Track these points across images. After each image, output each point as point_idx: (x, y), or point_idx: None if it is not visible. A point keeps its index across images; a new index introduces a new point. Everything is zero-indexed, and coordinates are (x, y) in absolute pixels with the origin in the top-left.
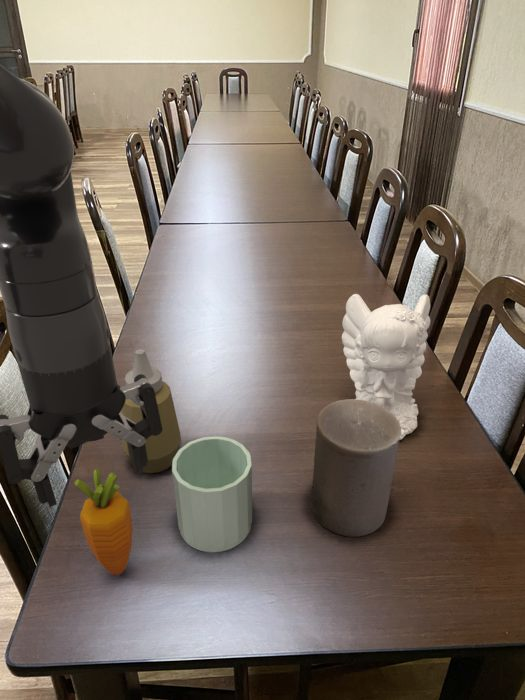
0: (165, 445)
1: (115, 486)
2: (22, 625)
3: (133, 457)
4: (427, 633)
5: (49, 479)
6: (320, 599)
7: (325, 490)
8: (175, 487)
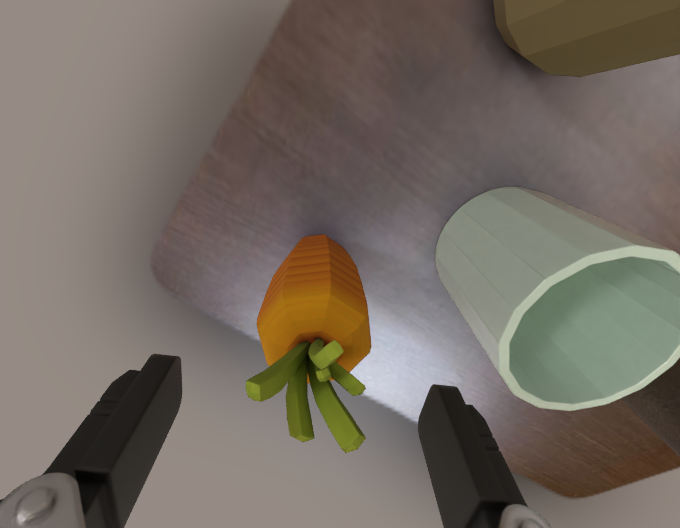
0: (596, 71)
1: (355, 389)
2: (161, 235)
3: (438, 492)
4: (530, 469)
5: (124, 525)
6: (493, 405)
7: (657, 402)
8: (488, 296)
